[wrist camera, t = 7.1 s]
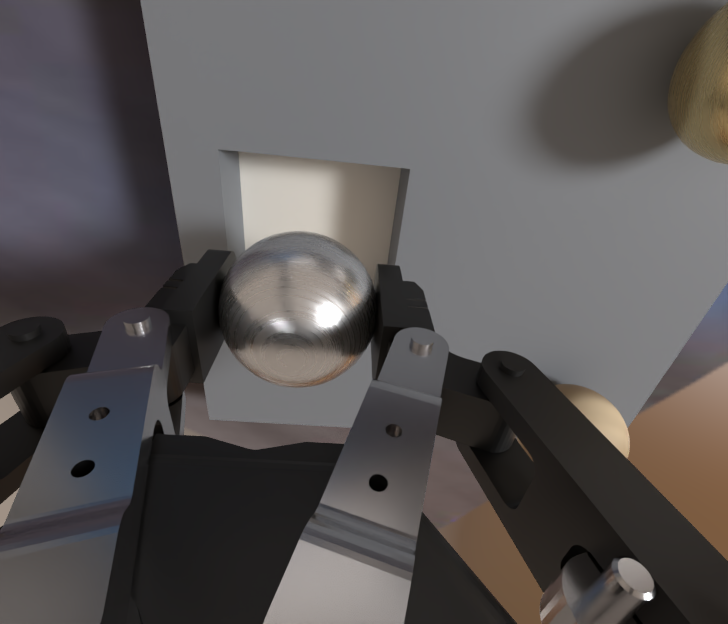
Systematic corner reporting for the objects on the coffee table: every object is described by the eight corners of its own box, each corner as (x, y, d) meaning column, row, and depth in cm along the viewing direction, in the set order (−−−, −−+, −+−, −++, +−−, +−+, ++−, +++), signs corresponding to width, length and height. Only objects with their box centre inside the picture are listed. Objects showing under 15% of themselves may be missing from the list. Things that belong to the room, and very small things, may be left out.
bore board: (166, -113, 12) (113, -161, 9) (833, -17, 13) (944, -35, 11) (225, 379, 23) (209, 419, 20) (589, 402, 24) (617, 442, 21)
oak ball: (519, 360, 18) (562, 439, 14) (611, 367, 18) (677, 446, 15) (492, 426, 21) (523, 508, 17) (574, 430, 21) (622, 512, 17)
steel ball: (236, 202, 12) (180, 268, 8) (382, 215, 12) (393, 286, 8) (245, 323, 14) (205, 417, 11) (367, 332, 15) (370, 426, 11)
